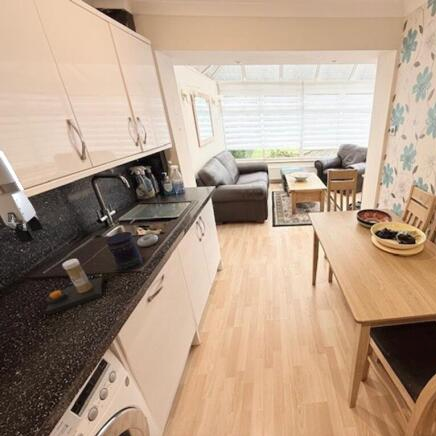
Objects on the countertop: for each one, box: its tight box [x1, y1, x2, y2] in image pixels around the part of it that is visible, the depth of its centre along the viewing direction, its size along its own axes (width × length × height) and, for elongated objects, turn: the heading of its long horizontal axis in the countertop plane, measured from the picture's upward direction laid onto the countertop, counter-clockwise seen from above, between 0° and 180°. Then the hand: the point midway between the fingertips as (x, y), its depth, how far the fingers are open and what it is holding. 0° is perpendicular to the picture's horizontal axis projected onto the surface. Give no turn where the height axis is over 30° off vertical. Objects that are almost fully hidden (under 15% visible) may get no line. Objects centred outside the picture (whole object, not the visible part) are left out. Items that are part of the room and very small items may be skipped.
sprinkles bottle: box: [62, 258, 92, 293], centre depth 92 cm, size 5×5×14 cm
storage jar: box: [105, 231, 144, 272], centre depth 108 cm, size 10×10×15 cm
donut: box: [136, 233, 159, 248], centre depth 128 cm, size 10×4×10 cm
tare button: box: [49, 289, 62, 299], centre depth 90 cm, size 3×3×2 cm
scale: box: [45, 276, 105, 316], centre depth 93 cm, size 16×12×4 cm
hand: (33, 235), depth 83 cm, fingers open, 9 cm apart
